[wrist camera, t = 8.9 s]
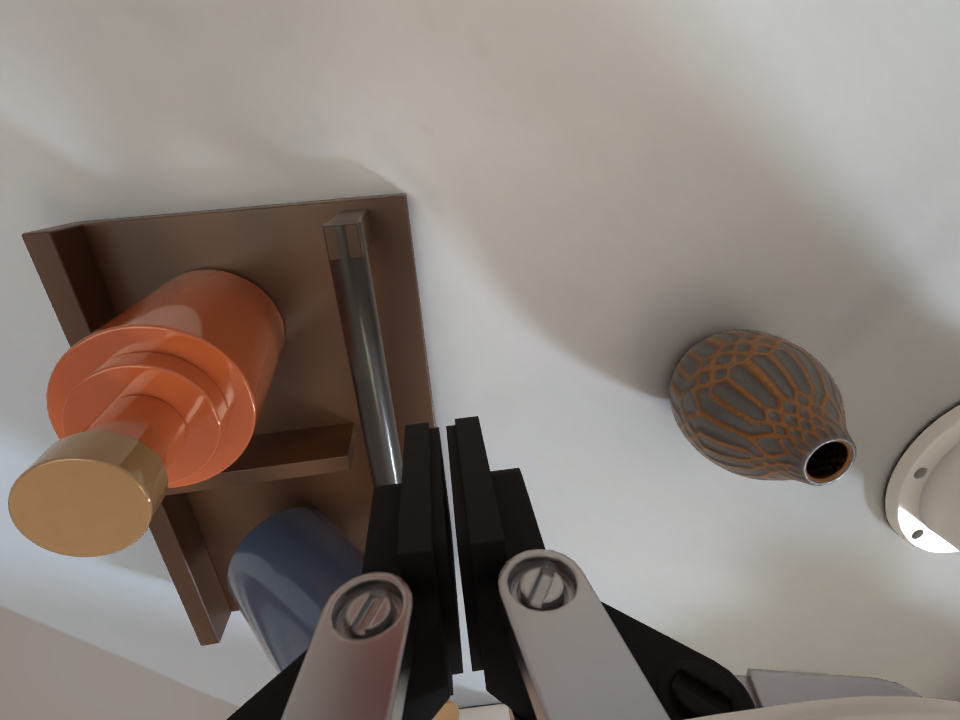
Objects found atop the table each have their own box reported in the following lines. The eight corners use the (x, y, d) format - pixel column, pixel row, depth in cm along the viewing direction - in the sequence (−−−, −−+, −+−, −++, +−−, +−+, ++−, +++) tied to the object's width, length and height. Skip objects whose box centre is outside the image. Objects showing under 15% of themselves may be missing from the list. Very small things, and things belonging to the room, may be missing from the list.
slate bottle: (324, 487, 26) (483, 631, 18) (343, 566, 28) (493, 727, 20) (212, 546, 23) (343, 758, 14) (244, 631, 25) (374, 857, 17)
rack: (405, 192, 22) (404, 206, 17) (453, 561, 31) (461, 648, 25) (74, 222, 21) (-44, 247, 15) (221, 597, 30) (179, 697, 24)
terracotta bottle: (268, 261, 21) (178, 374, 10) (297, 378, 23) (248, 573, 13) (125, 278, 20) (-145, 423, 9) (169, 398, 22) (-6, 631, 12)
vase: (679, 446, 30) (778, 555, 22) (630, 360, 27) (723, 449, 19) (783, 383, 29) (926, 473, 21) (743, 289, 26) (890, 351, 18)
